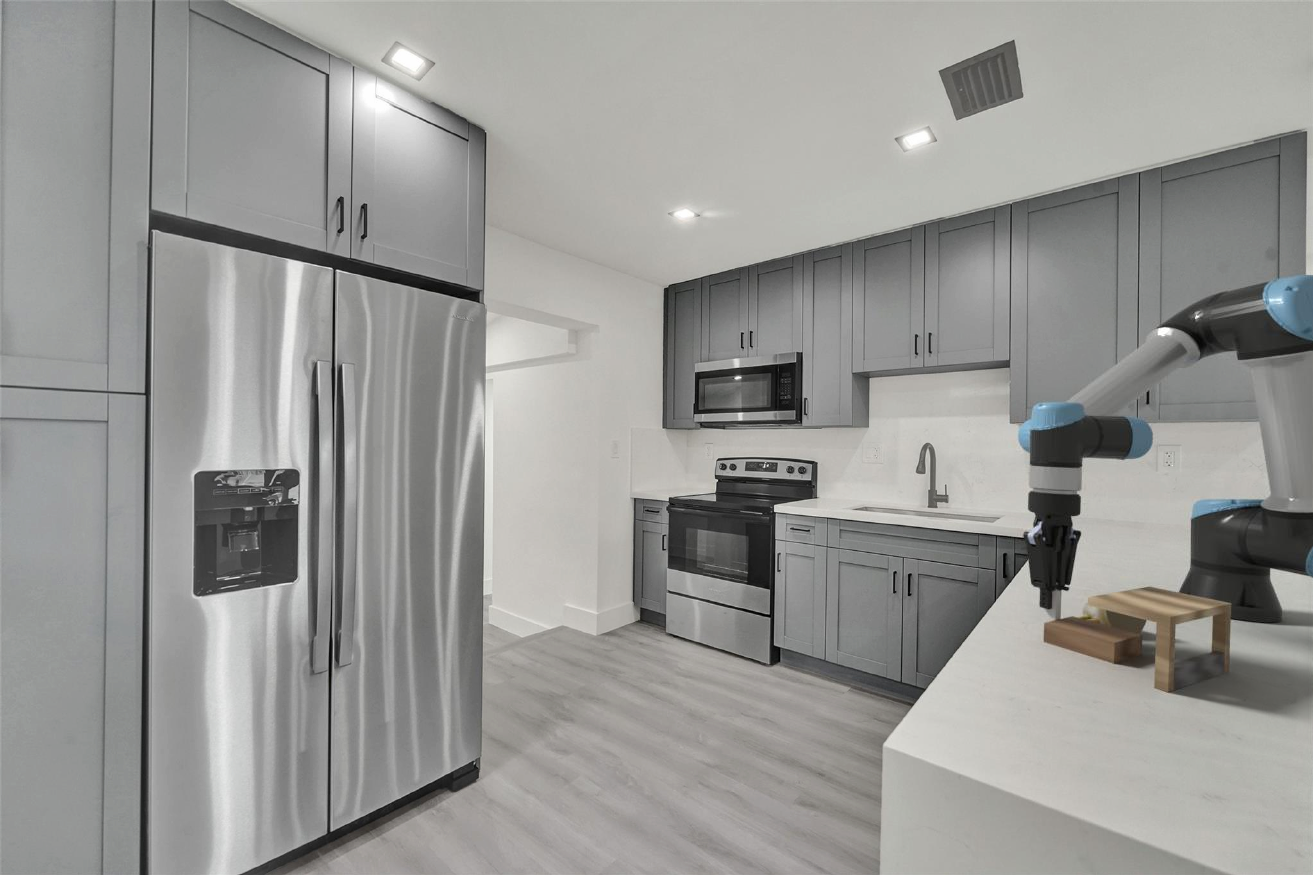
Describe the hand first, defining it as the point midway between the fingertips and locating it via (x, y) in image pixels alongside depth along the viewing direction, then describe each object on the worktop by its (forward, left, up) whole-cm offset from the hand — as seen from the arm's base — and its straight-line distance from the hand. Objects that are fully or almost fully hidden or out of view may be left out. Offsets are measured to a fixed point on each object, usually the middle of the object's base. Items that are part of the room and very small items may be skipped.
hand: (1049, 626), depth 99 cm
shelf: (0, +15, -1) cm, 15 cm away
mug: (-14, +2, -2) cm, 14 cm away
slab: (0, +7, -2) cm, 7 cm away
